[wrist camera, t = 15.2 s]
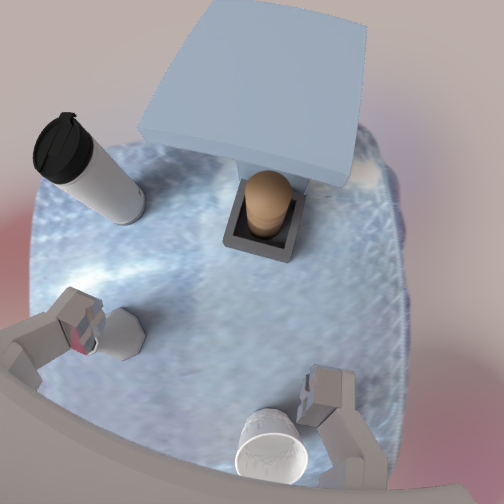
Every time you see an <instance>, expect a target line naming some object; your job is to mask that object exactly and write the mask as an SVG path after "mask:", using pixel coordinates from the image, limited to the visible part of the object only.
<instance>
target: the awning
mask: <svg viewBox="0 0 504 504" xmlns="http://www.w3.org/2000/svg"><path fill="white" fill-rule="evenodd" d="M366 38H367V26H365V25H362V24H359V23H356V22H353V21H349V20H346V19H343V18H339V17H335V16H331V15H328V14H324V13H320V12H315V11H311V10H306V9H302V8H297V7H292V6H287V5H281V4H275V3H268V2H262V1H255V0H213V1H212V3H211V4H210V6H209V7H208V8H207V10H206V11H205V12H204V14H203V15H202V17H201V18H200V20H199V21H198V22H197V24H196V25H195V27H194V28H193V30H192V32H191V33H190V34H189V36H188V38H187V39H186V41H185V42H184V44H183V45H182V47H181V48H180V50H179V52H178V53H177V55H176V57H175V58H174V60H173V62H172V63H171V65H170V67H169V68H168V70H167V72H166V73H165V75H164V77H163V79H162V81H161V82H160V84H159V86H158V88H157V90H156V91H155V93H154V95H153V97H152V99H151V101H150V103H149V105H148V107H147V109H146V111H145V113H144V114H143V117H142V118H141V121H140V123H139V125H138V127H137V129H138V130H139V132H140V133H141V135H142V136H143V138H144V140H145V141H146V142H147V143H153V144H159V145H165V146H170V147H176V148H181V149H186V150H191V151H197V152H201V153H206V154H211V155H216V156H220V157H225V158H230V159H234V160H237V166H238V174H239V181H241V178H242V179H246V180H249V179H250V178H251V177H252V176H253V175H254V174H256V173H258V172H261V171H265V170H271V171H276V172H278V173H280V174H282V175H283V176H285V177H286V178H287V180H288V181H289V183H290V185H291V188H292V192H296V193H300V194H303V193H304V191H305V188H306V186H307V184H308V182H309V179H312V180H316V181H319V182H323V183H326V184H330V185H333V186H336V187H340V188H342V186H343V185H344V183H345V182H346V181H347V179H348V178H349V177H350V173H351V167H352V161H353V155H354V148H355V141H356V134H357V127H358V120H359V112H360V103H361V95H362V85H363V75H364V64H365V52H366Z"/></svg>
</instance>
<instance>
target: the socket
mask: <svg viewBox="0 0 504 504" xmlns="http://www.w3.org/2000/svg"><path fill="white" fill-rule="evenodd" d="M247 182H248V180H246V179H242V178H241V181H240V185H239V188H238V191H237V194H236V198H235V201H234V204H233V207H232V211H231V214H230V217H229V221H228V224H227V227H226V230H225V234H224V237H223V243H224V245H225V247H229V248H233V249H236V250H240V251H244V252H248V253H251V254H255V255H259V256H262V257H266V258H270V259H273V260H277V261H281V262H285V263H288V262H289V260H290V259H291V255H292V251H293V247H294V243H295V239H296V235H297V231H298V227H299V223H300V218H301V214H302V210H303V206H304V202H305V198H306V195H303V194H300V193H296V192H292V198H291V201H290V204H289V207H288V209H287V212H286V215H285V218H284V221H283V224H282V227H281V229H280V232H279V233H278V234H277V235H276V236H275V237H274V238H272V239H269V240H260V239H258V238H256V237H254V236H253V235H252V234H251V233H250V231H249V229H248V223H247V210H246V198H245V188H246V184H247Z"/></svg>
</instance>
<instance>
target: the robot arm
mask: <svg viewBox="0 0 504 504" xmlns="http://www.w3.org/2000/svg"><path fill="white" fill-rule="evenodd" d="M102 307H103V303H102V300H100V299H98V298H96V297H93V296H91V295H89V294H86V293H84V292H82V291H80V290H77V289H75V288H72V287H69V288H67V289H66V290H65V291H64V292H63V293H62V294H61V296H60V297H59V298H58V299H57V300H56V301H55V303H54V304H53V305H52V306H51V308H50V309H49V310H48V311H47V312H46V313H45V312H42V313H40V314H37V315H35V316H33V317H30V318H28V319H26V320H23V321H21V322H19V323H16V324H14V325H12V326H10V327H7V328H5V329H2V330H0V504H477V503H476V501H475V500H474V498H473V496H472V495H471V494H470V492H469V491H468V490H467V488H466V487H465V486H464V485H462V484H451V485H443V486H435V487H426V488H414V489H399V490H387V457H386V455H385V454H384V452H383V450H382V449H381V447H380V445H379V444H378V442H377V440H376V439H375V437H374V436H373V434H372V432H371V431H370V429H369V427H368V426H367V424H366V422H365V421H364V419H363V418H362V416H361V414H360V413H359V411H355V374H354V372H353V371H348V370H342V369H340V368H334V367H329V366H323V365H318V364H314V365H313V366H312V367H311V369H310V374H308V375H306V377H305V378H304V380H303V383H302V386H301V390H300V396H299V398H300V400H301V402H302V403H301V404H300V406H299V407H298V411H297V419H296V423H297V424H302V425H307V426H312V427H318V428H317V430H318V432H319V434H320V437H321V439H322V441H323V444H324V446H325V448H326V450H327V453H328V455H329V457H330V460H331V462H332V464H333V466H334V467H333V468H331V469H329V470H328V471H326V472H324V473H323V474H321V475H320V479H319V486H318V488H317V487H307V486H298V485H291V484H284V483H277V482H271V481H265V480H260V479H255V478H250V477H245V476H240V475H236V474H232V473H227V472H223V471H219V470H216V469H212V468H208V467H205V466H201V465H198V464H194V463H191V462H188V461H185V460H182V459H178V458H175V457H172V456H170V455H167V454H164V453H161V452H158V451H156V450H153V449H150V448H148V447H145V446H143V445H140V444H138V443H135V442H133V441H130V440H128V439H126V438H123V437H121V436H119V435H117V434H114V433H112V432H110V431H108V430H106V429H104V428H101V427H99V426H97V425H95V424H93V423H91V422H89V421H87V420H85V419H84V418H82V417H80V416H78V415H76V414H74V413H72V412H70V411H69V410H67V409H65V408H63V407H62V406H60V405H58V404H56V403H55V402H53V401H51V400H50V399H48V398H46V397H45V396H43V395H42V394H40V393H38V392H37V390H38V388H39V386H40V385H41V383H42V378H41V376H40V375H39V373H38V372H37V369H39V368H40V367H42V366H44V365H45V364H47V363H49V362H50V361H52V360H54V359H55V358H57V357H59V356H60V355H62V354H64V353H65V352H67V351H68V350H70V348H71V349H73V350H75V351H77V352H80V353H82V354H84V355H86V356H87V355H88V354H89V352H90V350H91V349H92V347H93V346H94V344H95V341H94V338H96V337H98V336H100V335H101V333H102V332H103V330H104V327H105V324H106V316H105V313H104V312H103V310H102Z"/></svg>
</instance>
